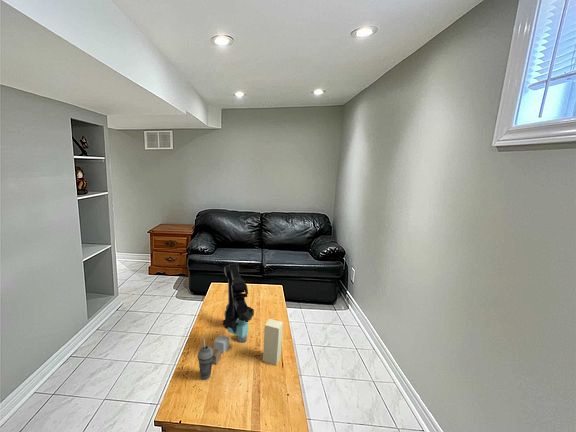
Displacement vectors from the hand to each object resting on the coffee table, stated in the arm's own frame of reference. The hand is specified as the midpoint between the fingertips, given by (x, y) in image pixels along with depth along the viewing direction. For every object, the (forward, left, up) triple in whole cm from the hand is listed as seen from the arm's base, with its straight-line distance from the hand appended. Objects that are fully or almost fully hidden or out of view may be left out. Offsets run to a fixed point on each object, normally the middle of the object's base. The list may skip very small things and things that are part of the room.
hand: (237, 330), depth 147 cm
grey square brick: (-7, -5, -11) cm, 14 cm away
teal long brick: (0, 0, -1) cm, 1 cm away
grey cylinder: (-2, +7, -11) cm, 13 cm away
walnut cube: (-4, -14, -11) cm, 18 cm away
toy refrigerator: (+21, +3, -11) cm, 24 cm away
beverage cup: (0, -24, -11) cm, 26 cm away
